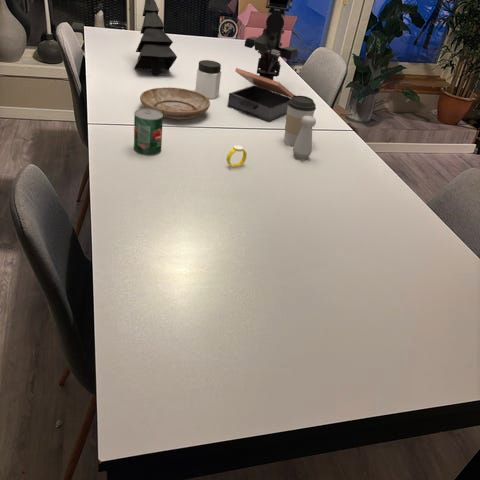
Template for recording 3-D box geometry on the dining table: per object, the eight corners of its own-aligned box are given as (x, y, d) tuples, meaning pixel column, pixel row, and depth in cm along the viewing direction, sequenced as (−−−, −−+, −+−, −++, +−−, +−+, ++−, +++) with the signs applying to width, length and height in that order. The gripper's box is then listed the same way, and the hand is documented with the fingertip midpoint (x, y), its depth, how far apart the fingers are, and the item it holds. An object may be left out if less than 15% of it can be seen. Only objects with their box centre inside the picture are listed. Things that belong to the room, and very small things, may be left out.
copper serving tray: (253, 84, 192) (254, 81, 192) (294, 98, 185) (295, 95, 185) (234, 71, 178) (236, 67, 178) (277, 85, 171) (279, 82, 170)
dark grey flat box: (251, 97, 195) (253, 85, 192) (291, 112, 188) (293, 99, 185) (224, 107, 183) (226, 94, 180) (266, 123, 175) (268, 109, 172)
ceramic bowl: (171, 95, 186) (171, 82, 183) (222, 115, 176) (223, 101, 173) (125, 109, 169) (125, 94, 166) (178, 131, 160) (179, 116, 157)
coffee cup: (310, 141, 167) (320, 97, 159) (304, 151, 160) (314, 105, 151) (284, 134, 169) (292, 90, 160) (277, 144, 162) (285, 98, 153)
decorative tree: (170, 79, 211) (161, -5, 210) (178, 67, 197) (170, -23, 196) (134, 78, 205) (126, -8, 205) (141, 66, 192) (132, -26, 191)
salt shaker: (290, 152, 158) (298, 112, 150) (307, 153, 159) (316, 114, 151) (293, 160, 153) (301, 119, 146) (311, 162, 154) (321, 121, 147)
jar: (222, 98, 191) (226, 66, 184) (205, 100, 186) (208, 67, 179) (208, 90, 196) (211, 58, 189) (191, 92, 191) (193, 60, 184)
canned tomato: (163, 156, 144) (165, 119, 138) (135, 156, 141) (136, 119, 135) (158, 144, 150) (160, 108, 144) (132, 144, 148) (132, 108, 141)
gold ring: (240, 163, 147) (244, 144, 144) (246, 167, 146) (250, 148, 142) (223, 165, 144) (227, 145, 141) (229, 169, 142) (232, 149, 139)
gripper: (238, 22, 168) (232, 69, 176) (286, 35, 160) (278, 84, 169) (256, 19, 176) (250, 64, 185) (302, 32, 168) (293, 78, 177)
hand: (267, 72), depth 179 cm, fingers closed
